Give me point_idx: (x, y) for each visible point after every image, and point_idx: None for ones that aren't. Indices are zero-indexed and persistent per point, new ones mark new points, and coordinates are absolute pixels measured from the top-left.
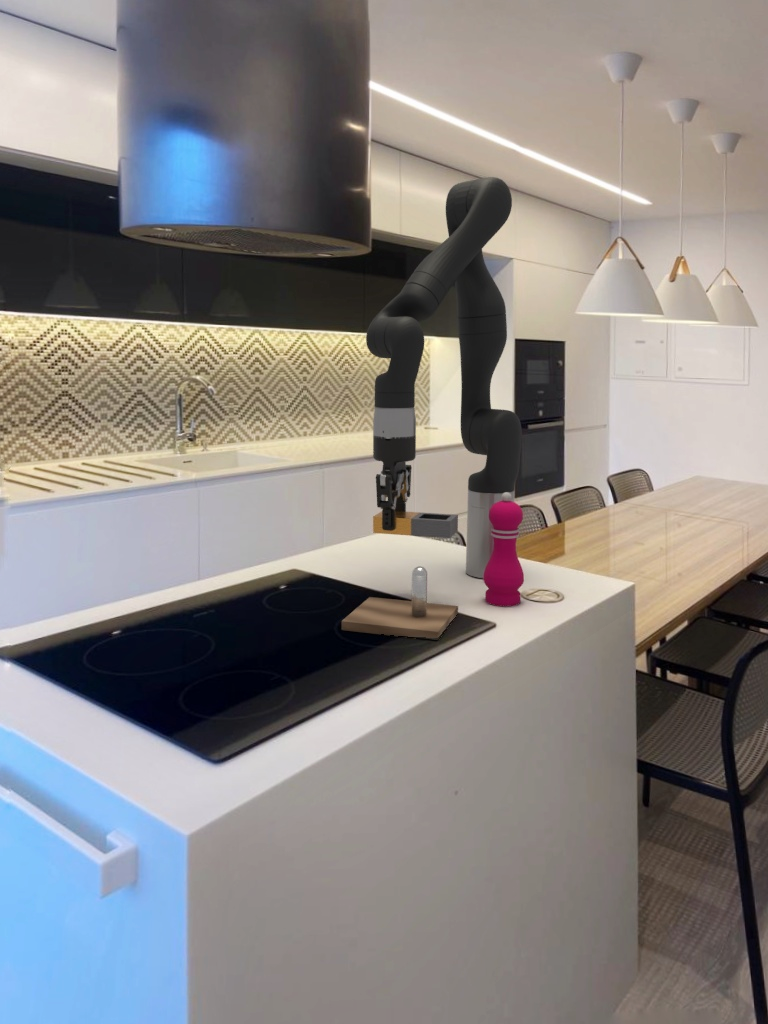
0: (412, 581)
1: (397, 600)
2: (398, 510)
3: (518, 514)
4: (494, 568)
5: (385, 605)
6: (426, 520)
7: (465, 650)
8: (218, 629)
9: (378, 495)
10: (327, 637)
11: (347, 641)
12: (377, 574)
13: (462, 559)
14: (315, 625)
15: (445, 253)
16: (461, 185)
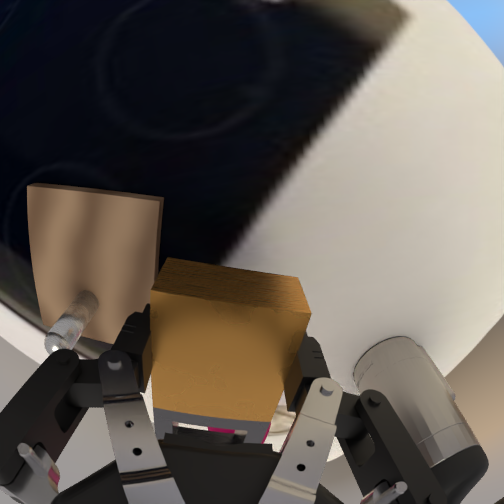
0: (54, 324)
1: (150, 260)
2: (291, 370)
3: None
4: (213, 427)
5: (114, 242)
6: (155, 432)
7: (41, 342)
8: (25, 13)
9: (26, 390)
10: (10, 172)
11: (7, 205)
12: (395, 184)
13: (462, 318)
14: (44, 133)
15: None
16: None
